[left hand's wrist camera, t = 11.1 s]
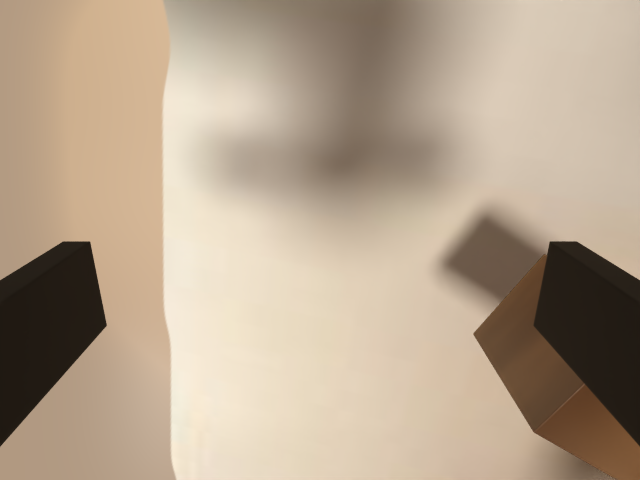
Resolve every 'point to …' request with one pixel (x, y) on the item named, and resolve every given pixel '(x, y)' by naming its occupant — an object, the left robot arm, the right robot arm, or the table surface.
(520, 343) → the box
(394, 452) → the table surface
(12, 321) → the left robot arm
